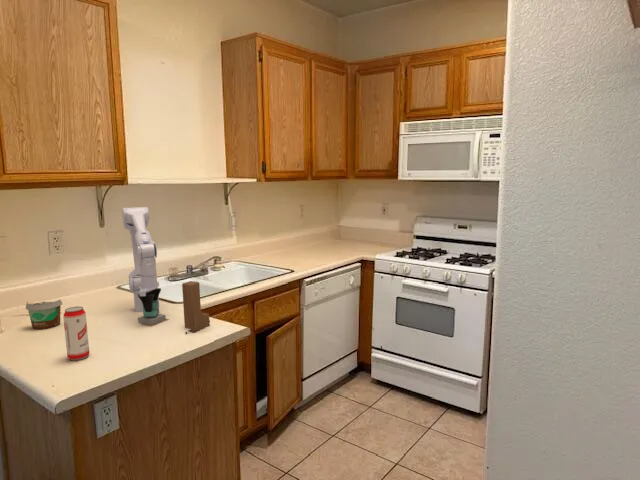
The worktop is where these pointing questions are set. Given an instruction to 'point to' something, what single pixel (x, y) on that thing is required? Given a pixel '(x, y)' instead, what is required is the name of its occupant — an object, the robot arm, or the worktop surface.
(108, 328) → the worktop surface
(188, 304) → the wooden block
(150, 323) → the top slab
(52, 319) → the food container
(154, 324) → the base slab
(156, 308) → the block
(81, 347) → the beer can
